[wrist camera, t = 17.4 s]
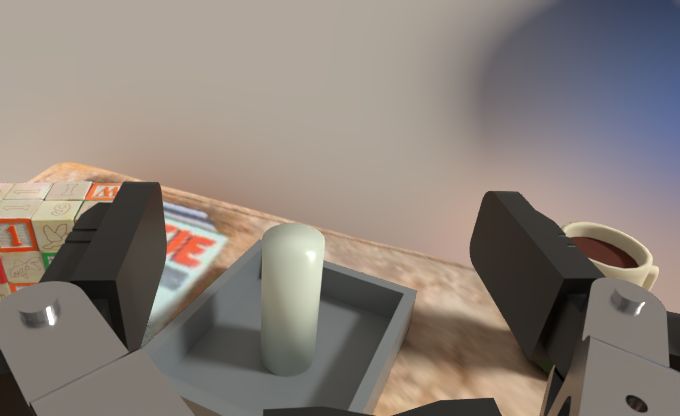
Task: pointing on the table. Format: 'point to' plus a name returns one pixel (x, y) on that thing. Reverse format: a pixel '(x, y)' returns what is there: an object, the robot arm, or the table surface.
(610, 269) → the character mug
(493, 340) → the table surface
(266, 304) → the canister
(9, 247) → the stack of blocks
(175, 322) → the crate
